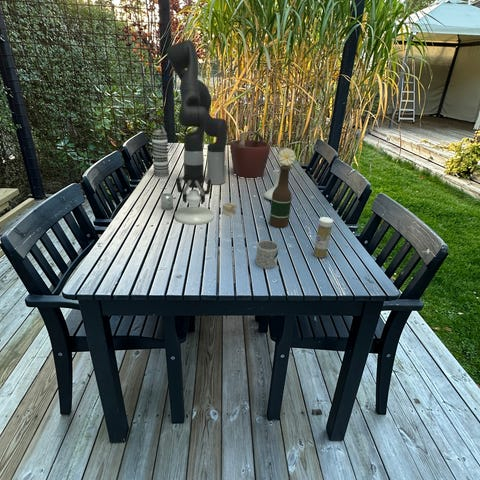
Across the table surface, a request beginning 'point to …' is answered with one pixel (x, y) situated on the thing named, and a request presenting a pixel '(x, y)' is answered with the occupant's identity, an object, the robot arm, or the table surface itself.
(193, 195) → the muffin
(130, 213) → the table surface
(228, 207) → the brass block
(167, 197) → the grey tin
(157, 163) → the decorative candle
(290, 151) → the flower in vase
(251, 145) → the brown flower pot
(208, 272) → the table surface
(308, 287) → the table surface
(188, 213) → the white bowl
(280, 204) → the beer bottle
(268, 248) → the mug
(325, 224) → the sprinkles bottle
